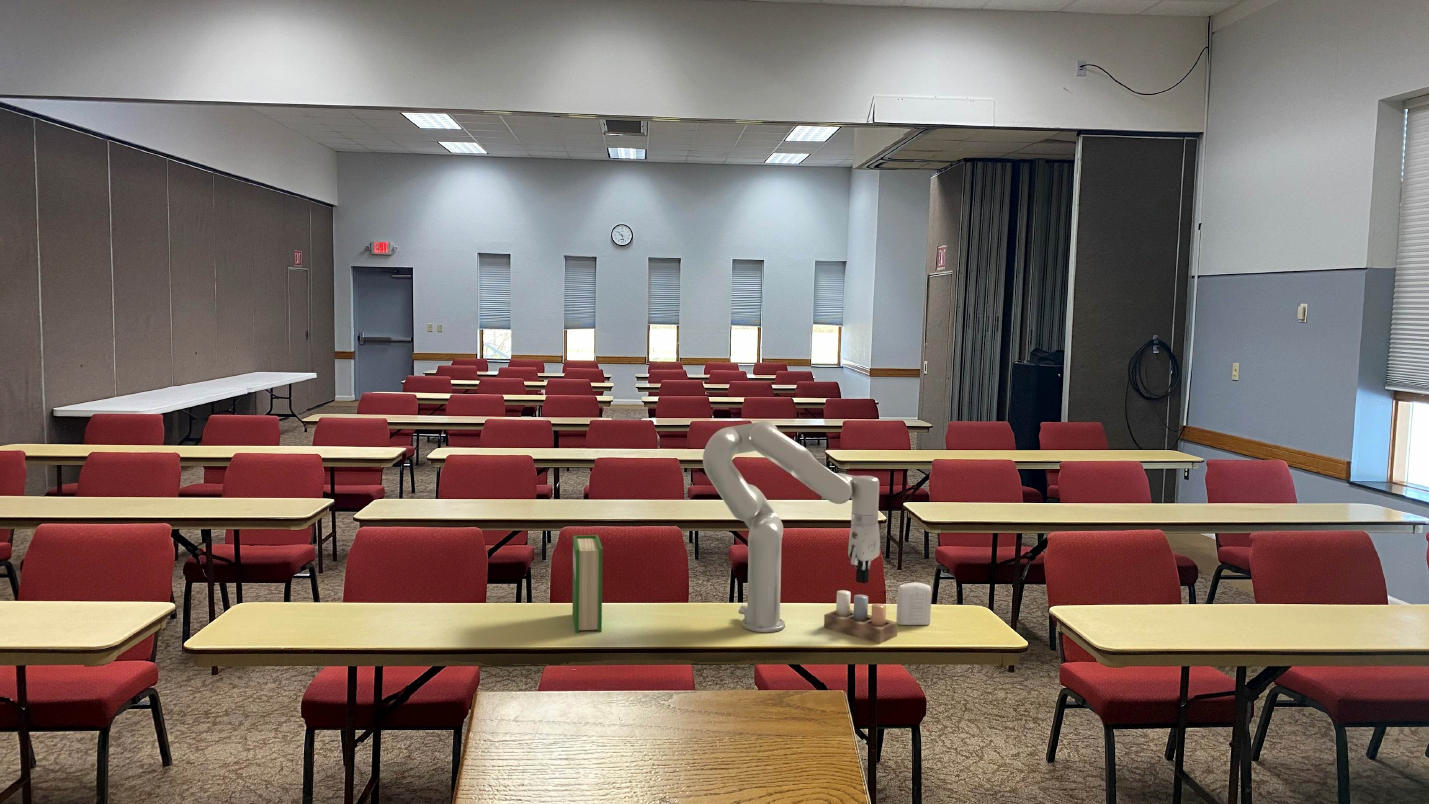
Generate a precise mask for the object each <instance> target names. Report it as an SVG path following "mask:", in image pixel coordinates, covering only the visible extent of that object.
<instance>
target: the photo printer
mask: <svg viewBox="0 0 1429 804" xmlns="http://www.w3.org/2000/svg"><path fill="white" fill-rule="evenodd" d="M896 599H897V601H896V619H895V622H897V625H899V626H917V625H918V626H923V625H924V626H925V625H927V626H928V625H929V626H930V624H931V611H932V610H931V608H932V587H931V586H930V585H929V584H926V583H921V582H907V583H903V584H901V585H899V586H898V588H897V598H896Z"/></svg>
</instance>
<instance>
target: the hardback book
mask: <svg viewBox="0 0 1429 804" xmlns="http://www.w3.org/2000/svg"><path fill="white" fill-rule="evenodd" d="M572 541H573V542H572V612H571V613H572V619H573V620H572V621H573V628H574V633H575V634H579V633H580V631H589V630H590V631H591V630H592V631H594V630H597V633H602V631H603V627H602V626H603V625H602V624H603V622H602V621H603V555H604V553H603V549H604V548H603V546H602V542H601V540H600V536H599V535H598V534H597V535H596V534H593V535H592V534H590V535H588V534H587V535H573V536H572Z"/></svg>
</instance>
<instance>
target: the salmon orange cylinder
mask: <svg viewBox="0 0 1429 804" xmlns="http://www.w3.org/2000/svg"><path fill="white" fill-rule="evenodd" d="M870 615H871V624H872V625H875V626H879V627H883V626H885V625H886V620H887V619H886V617H887V605H886V604H883V603H872V604H871V614H870Z"/></svg>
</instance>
